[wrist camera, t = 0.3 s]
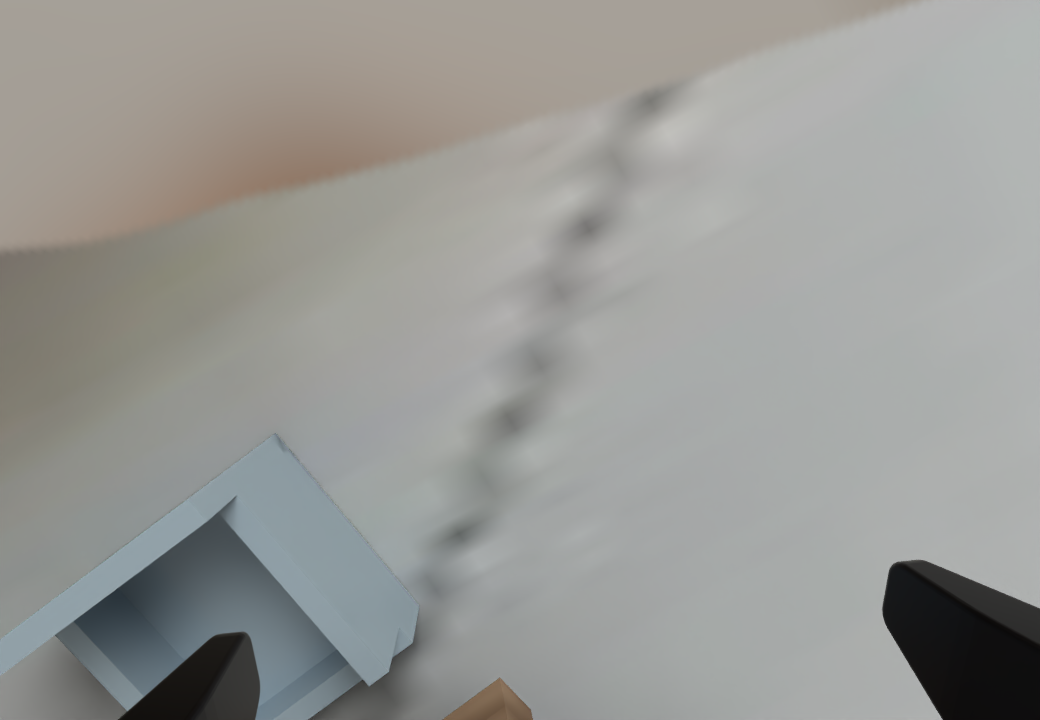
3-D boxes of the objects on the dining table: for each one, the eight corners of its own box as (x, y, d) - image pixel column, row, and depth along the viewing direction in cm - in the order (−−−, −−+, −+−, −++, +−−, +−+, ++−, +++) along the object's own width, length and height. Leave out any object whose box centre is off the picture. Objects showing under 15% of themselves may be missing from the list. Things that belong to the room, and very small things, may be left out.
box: (419, 605, 24) (395, 737, 17) (243, 735, 24) (149, 917, 17) (275, 432, 23) (187, 498, 16) (91, 570, 23) (-75, 694, 16)
